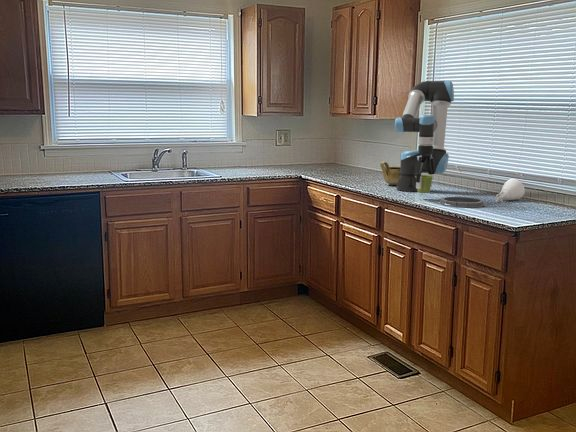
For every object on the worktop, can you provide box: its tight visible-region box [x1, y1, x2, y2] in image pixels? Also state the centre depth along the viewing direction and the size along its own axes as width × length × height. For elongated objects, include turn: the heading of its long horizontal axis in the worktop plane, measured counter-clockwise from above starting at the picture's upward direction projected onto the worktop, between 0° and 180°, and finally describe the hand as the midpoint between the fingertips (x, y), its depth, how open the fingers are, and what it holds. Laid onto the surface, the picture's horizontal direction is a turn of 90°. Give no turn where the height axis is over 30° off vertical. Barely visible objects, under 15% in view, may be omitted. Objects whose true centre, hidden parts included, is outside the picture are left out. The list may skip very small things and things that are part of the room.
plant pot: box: [415, 174, 434, 194], centre depth 312 cm, size 9×9×9 cm
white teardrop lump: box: [494, 178, 526, 204], centre depth 310 cm, size 12×12×18 cm
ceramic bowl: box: [379, 161, 400, 187], centre depth 368 cm, size 22×17×15 cm
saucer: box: [438, 196, 485, 209], centre depth 299 cm, size 22×22×2 cm
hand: (423, 187), depth 313 cm, fingers closed on plant pot, 9 cm apart
